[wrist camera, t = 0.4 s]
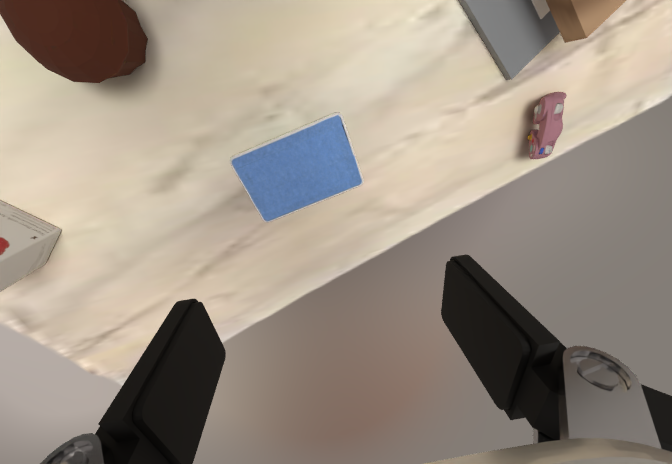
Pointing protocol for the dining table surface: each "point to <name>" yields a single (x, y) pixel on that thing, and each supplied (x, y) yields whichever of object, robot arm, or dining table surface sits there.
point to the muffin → (78, 36)
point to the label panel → (512, 30)
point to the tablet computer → (299, 168)
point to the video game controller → (546, 125)
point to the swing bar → (581, 16)
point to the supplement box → (23, 244)
